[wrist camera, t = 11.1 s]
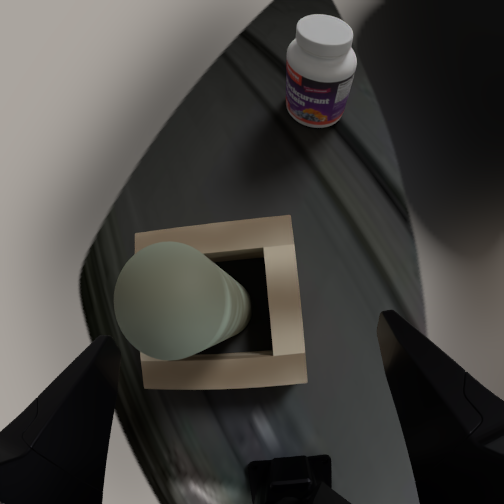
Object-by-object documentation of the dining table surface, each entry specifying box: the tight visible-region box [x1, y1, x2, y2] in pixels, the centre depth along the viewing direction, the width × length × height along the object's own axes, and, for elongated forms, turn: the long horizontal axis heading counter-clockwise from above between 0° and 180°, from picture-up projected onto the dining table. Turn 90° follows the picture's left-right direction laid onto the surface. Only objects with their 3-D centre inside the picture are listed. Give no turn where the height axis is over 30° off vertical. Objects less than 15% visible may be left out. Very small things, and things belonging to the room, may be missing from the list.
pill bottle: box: [286, 14, 357, 128], centre depth 21 cm, size 5×5×10 cm
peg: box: [114, 241, 253, 361], centre depth 17 cm, size 4×4×12 cm
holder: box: [135, 215, 307, 390], centre depth 21 cm, size 11×11×4 cm
